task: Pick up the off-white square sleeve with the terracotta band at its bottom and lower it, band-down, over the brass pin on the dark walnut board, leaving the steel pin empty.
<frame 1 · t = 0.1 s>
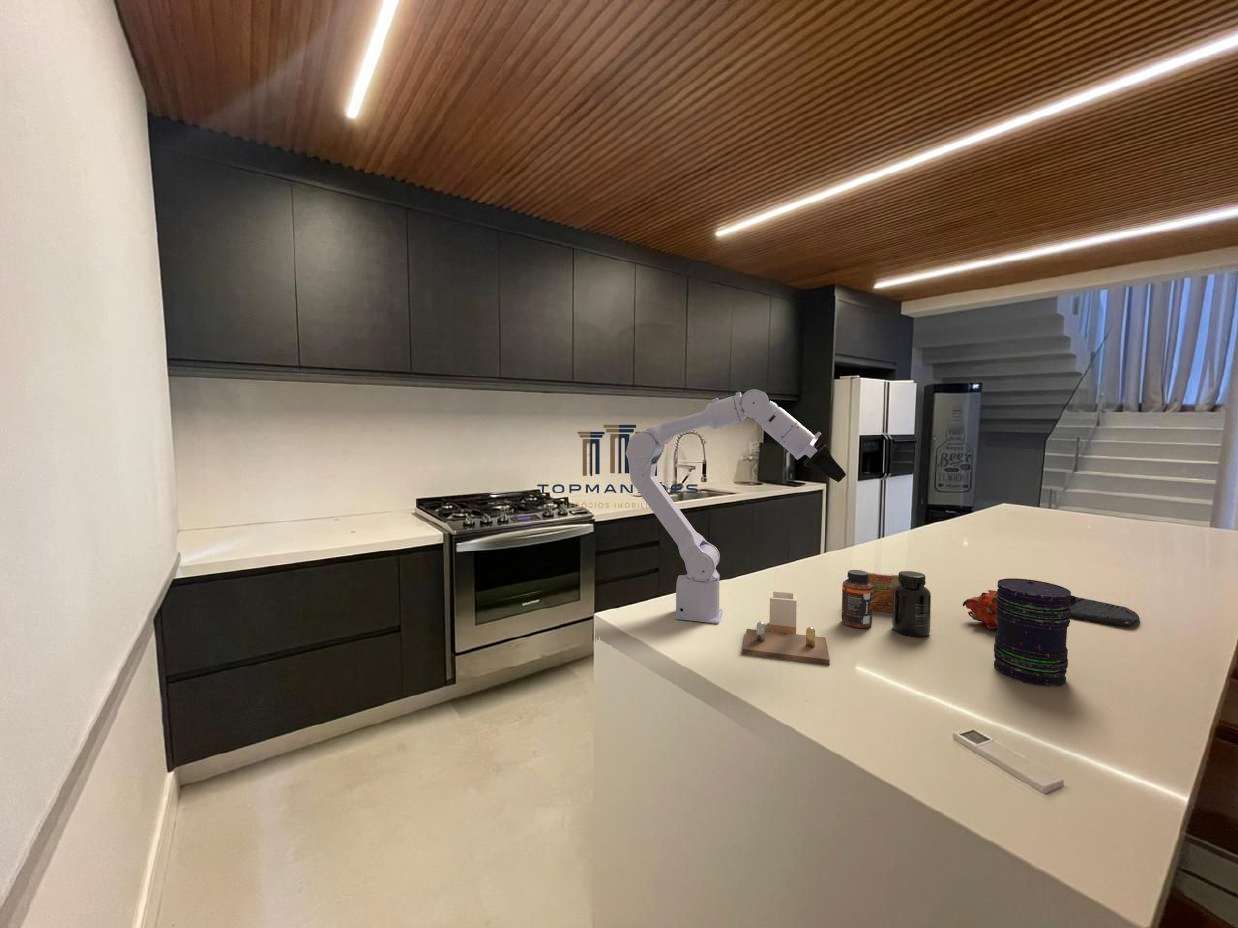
hand: (840, 476, 103), 32 cm above the table, tool tilted 50°, fingers open, 7 cm apart
dragon fruit: (994, 628, 107), on the table
tin: (883, 610, 118), on the table
brass pin: (810, 645, 96), resting on board
dark slate chunk: (1069, 612, 117), on the table
sleeve: (782, 628, 107), on the table
steel pin: (760, 640, 99), resting on board
supplement bottle 2: (856, 624, 109), on the table
board: (785, 648, 98), on the table
supplement bottle: (910, 632, 105), on the table
dark blue cylinder: (1028, 673, 87), on the table
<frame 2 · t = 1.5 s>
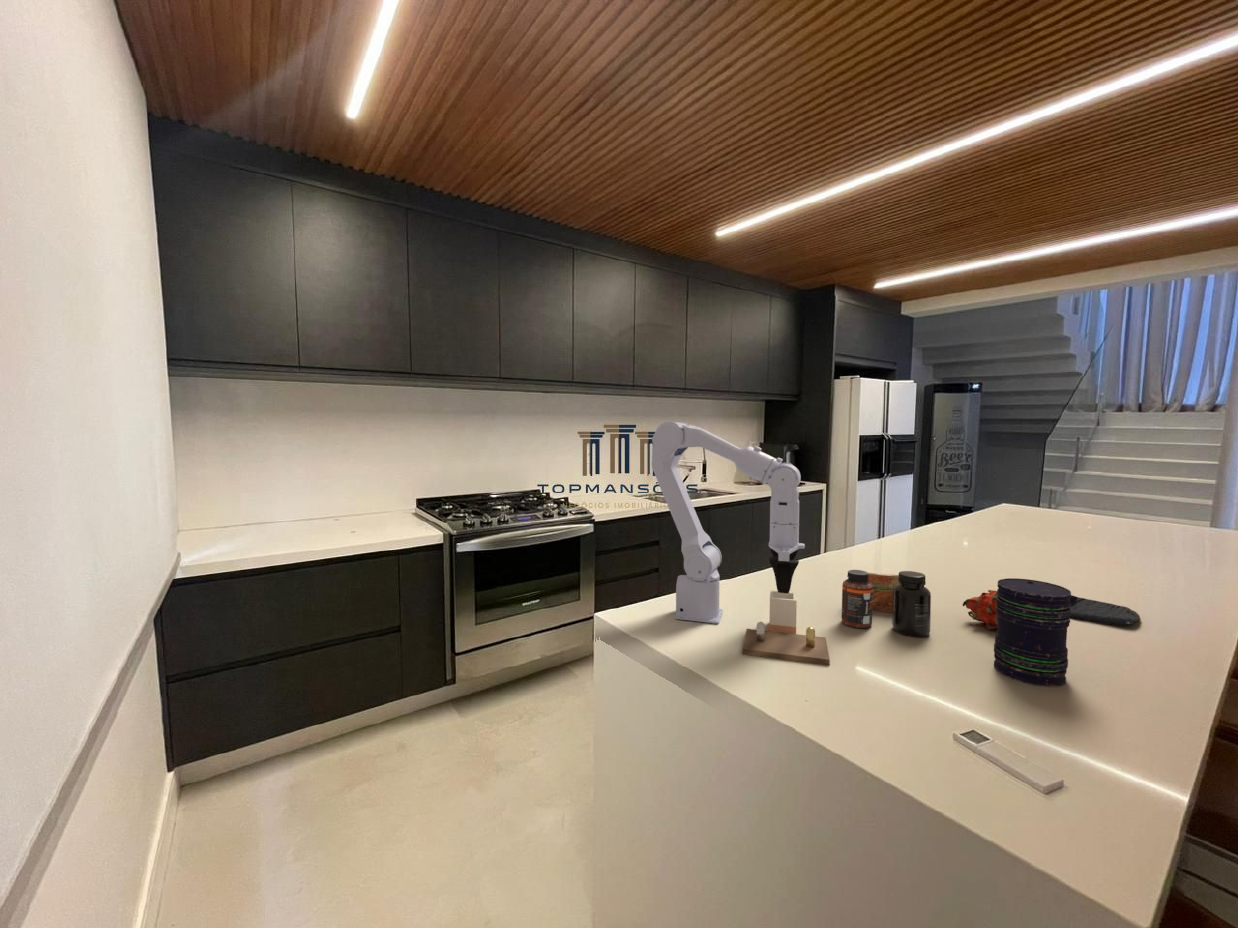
hand: (783, 586, 107), 9 cm above the table, tool pointing down, fingers open, 7 cm apart
nothing on the table moved.
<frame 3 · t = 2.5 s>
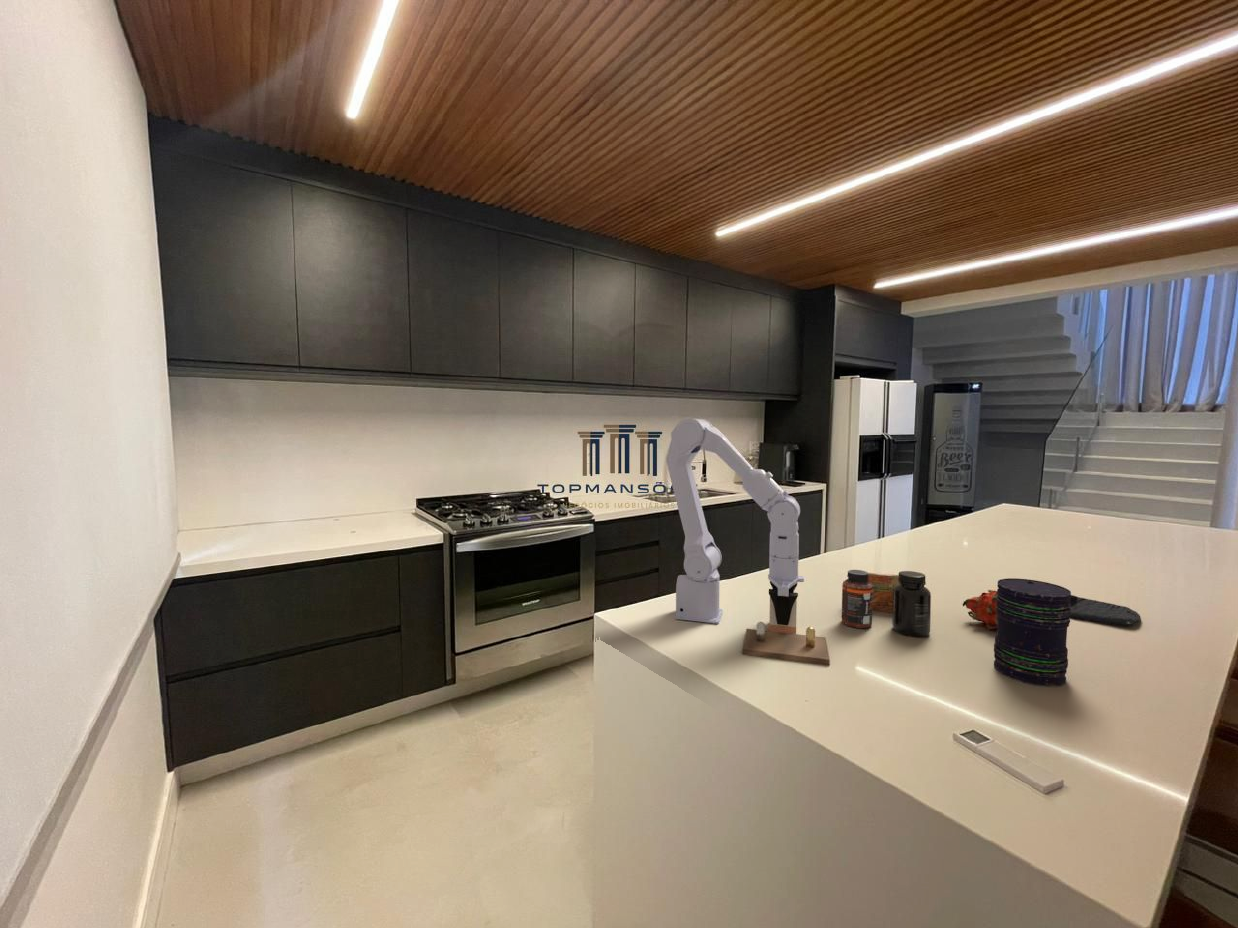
hand: (782, 619, 107), 2 cm above the table, tool pointing down, fingers closed on sleeve, 5 cm apart
sleeve: (782, 628, 107), on the table, touching gripper
everything else where it was.
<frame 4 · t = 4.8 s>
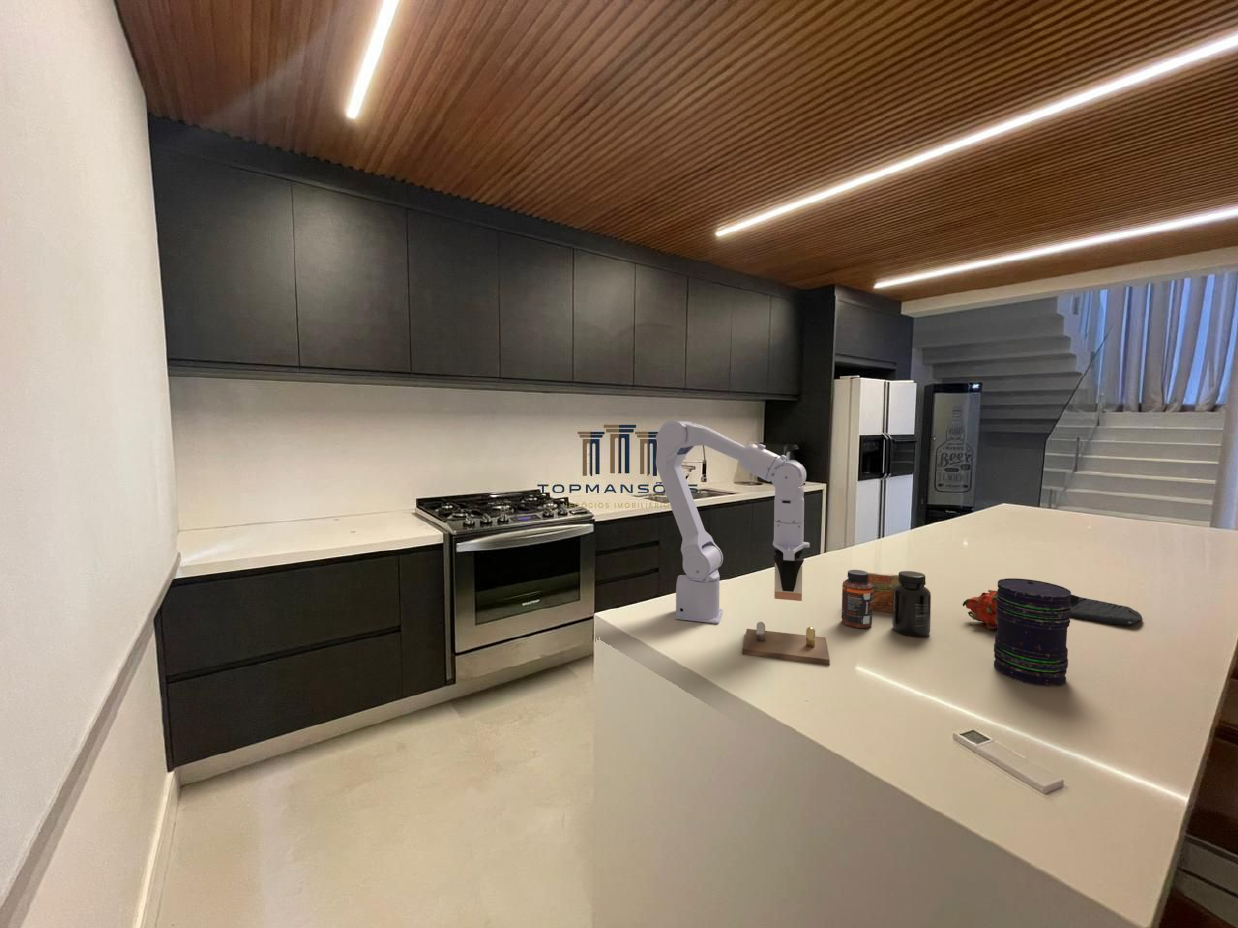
hand: (787, 586, 105), 9 cm above the table, tool pointing down, fingers closed on sleeve, 5 cm apart
sleeve: (787, 595, 105), point 8 cm above the table, touching gripper
everything else where it was.
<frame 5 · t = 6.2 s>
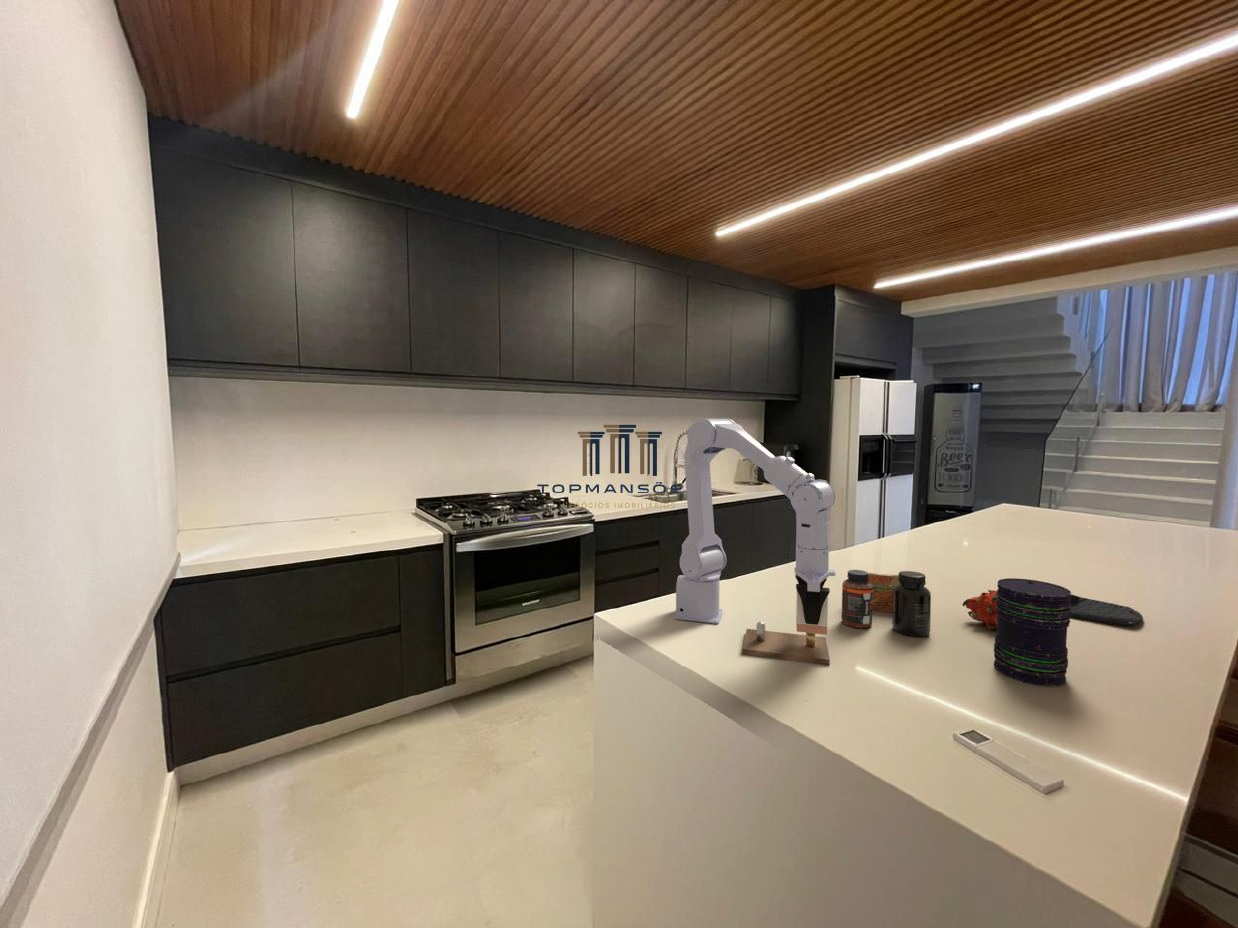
hand: (811, 617, 96), 6 cm above the table, tool pointing down, fingers closed on sleeve, 5 cm apart
sleeve: (811, 627, 96), point 5 cm above the table, touching gripper
everything else where it was.
when the fingers open (4 cm above the table, at t = 7.2 s): sleeve drops 2 cm, resting on board.
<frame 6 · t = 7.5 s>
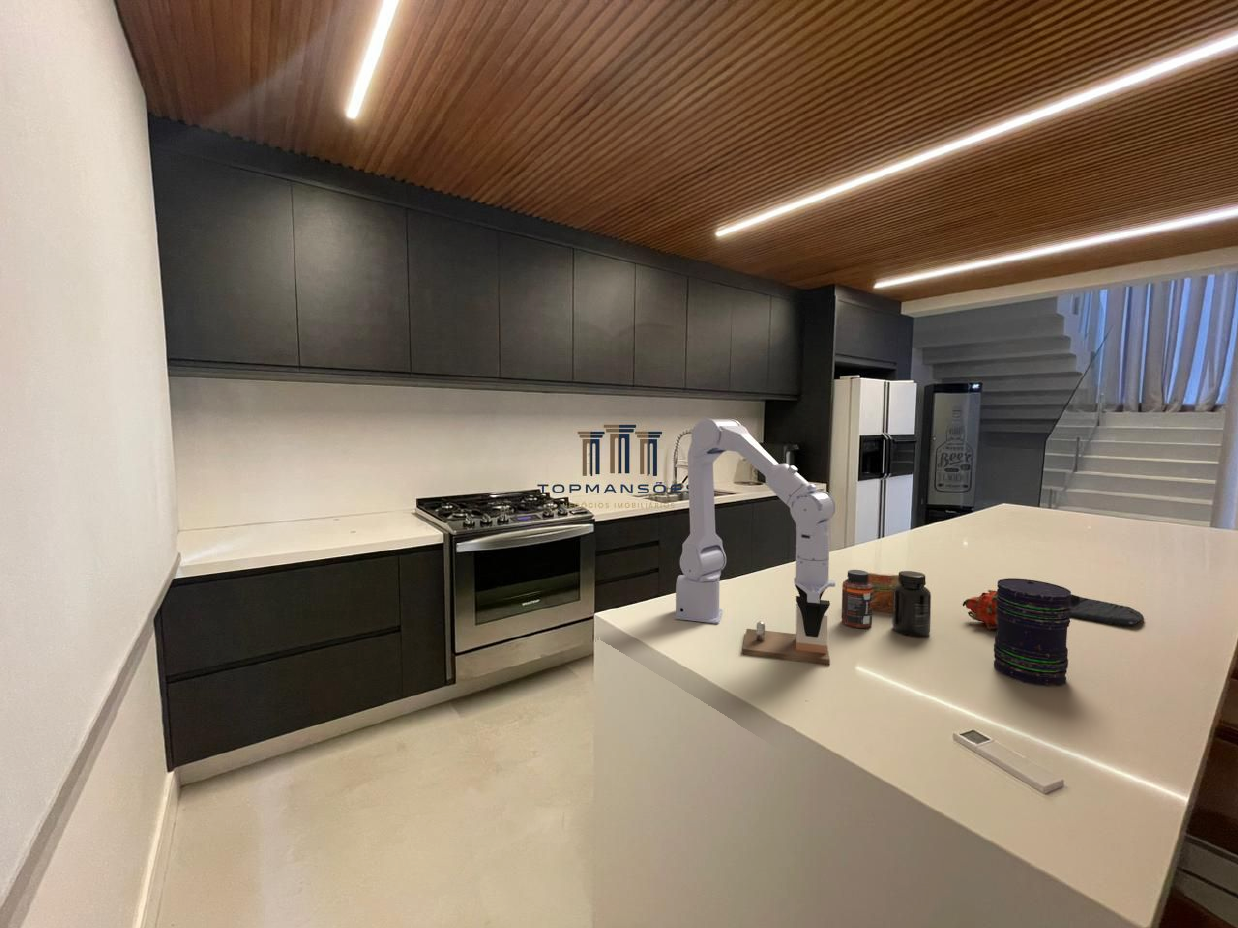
hand: (810, 628, 96), 4 cm above the table, tool pointing down, fingers open, 7 cm apart
sleeve: (810, 645, 96), point 1 cm above the table, touching board
everything else where it was.
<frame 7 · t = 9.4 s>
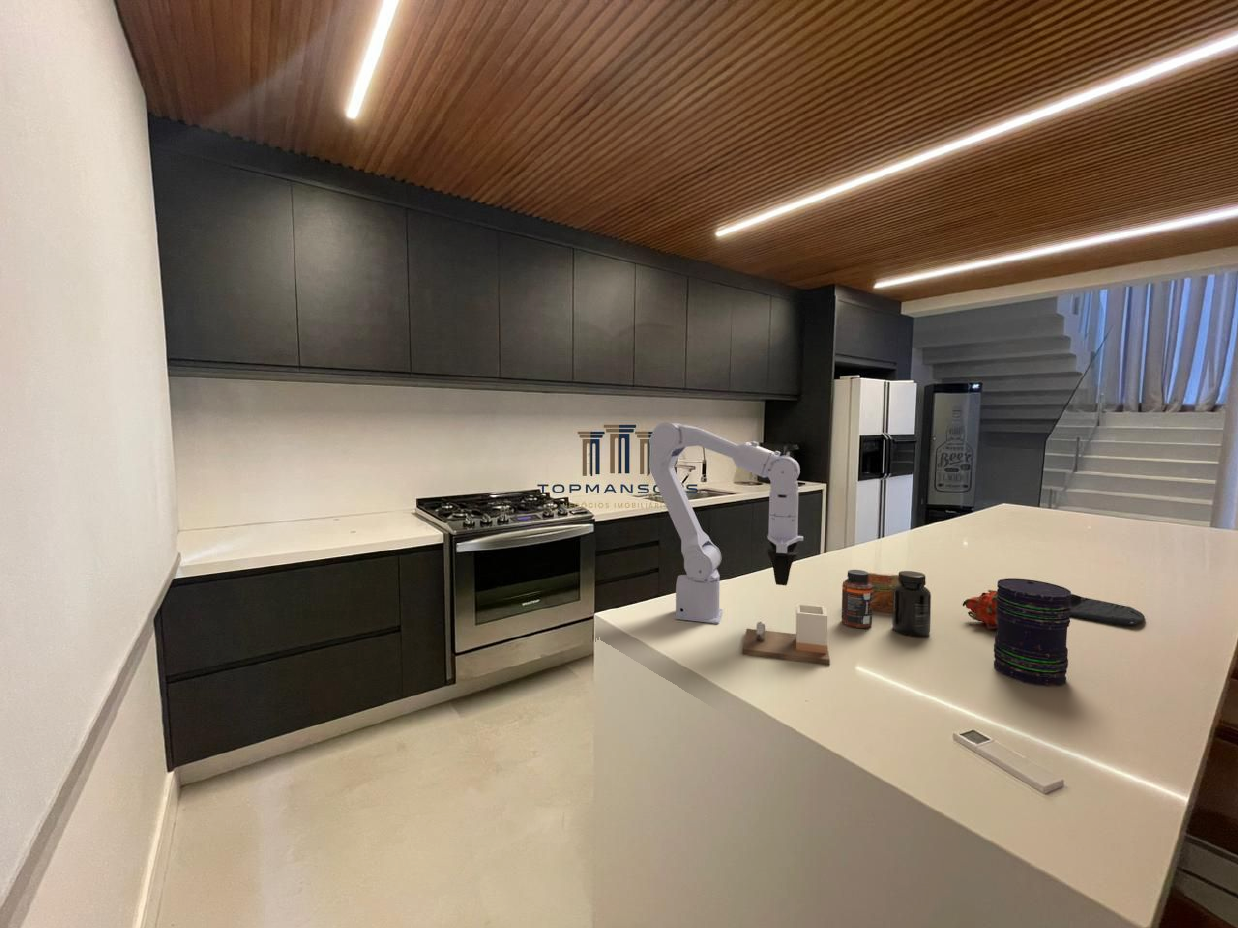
hand: (781, 579, 107), 10 cm above the table, tool pointing down, fingers open, 7 cm apart
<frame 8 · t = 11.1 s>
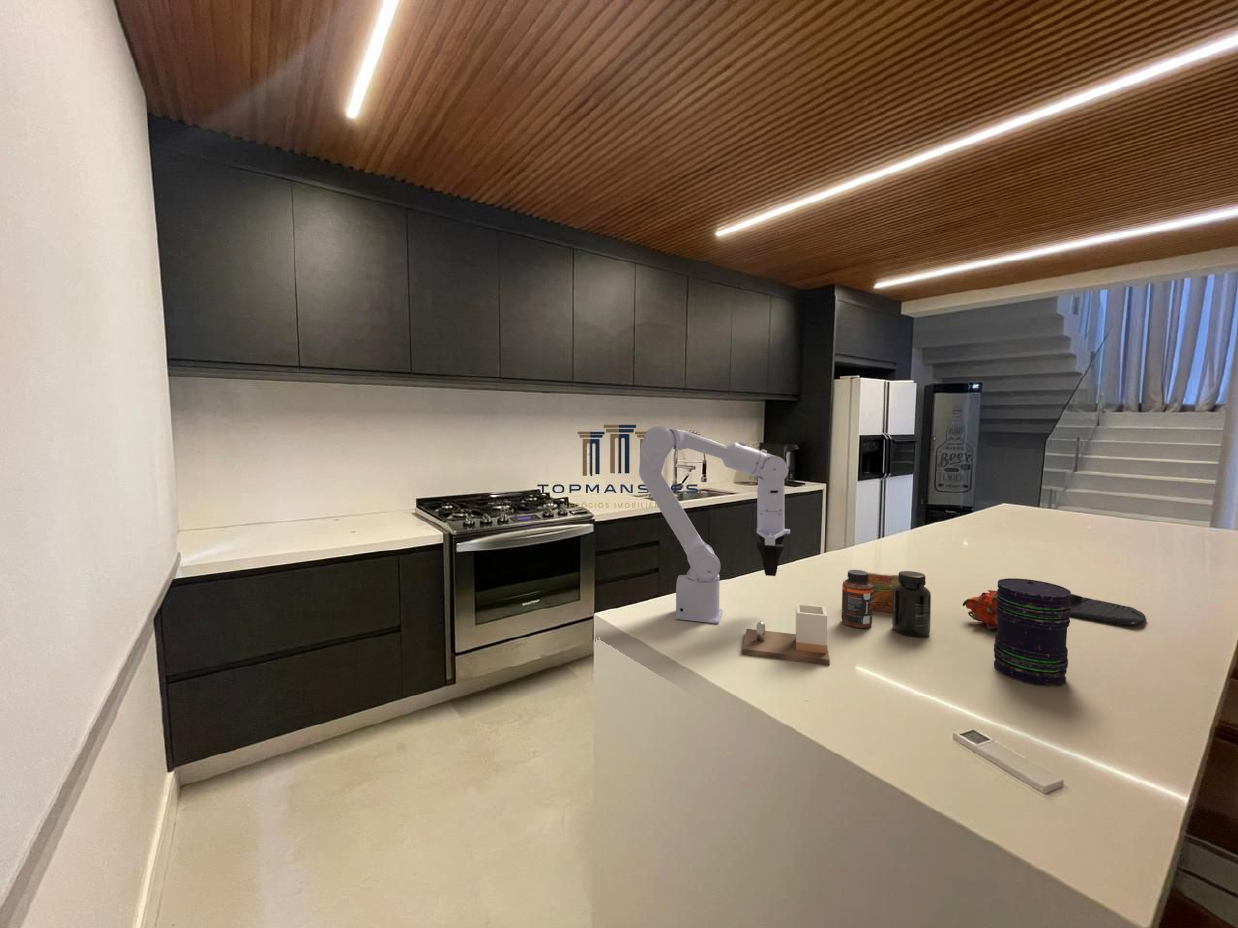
hand: (771, 570, 113), 10 cm above the table, tool pointing down, fingers open, 7 cm apart
at the end: sleeve 0.0 cm from the brass pin (horizontally); sleeve point 1.0 cm above the table; sleeve tilted 0° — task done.
